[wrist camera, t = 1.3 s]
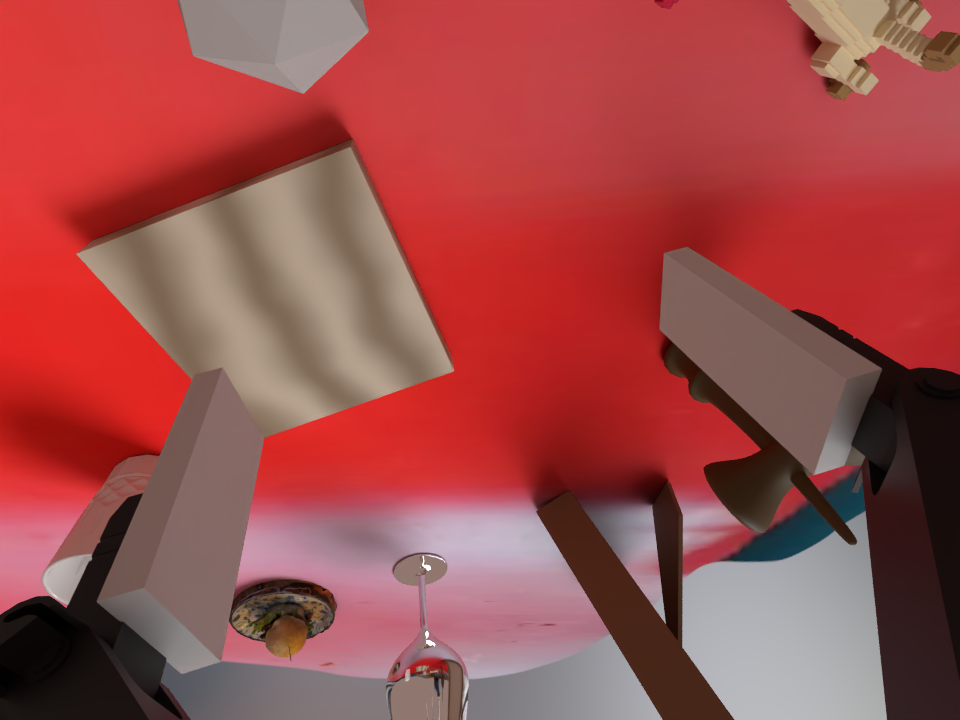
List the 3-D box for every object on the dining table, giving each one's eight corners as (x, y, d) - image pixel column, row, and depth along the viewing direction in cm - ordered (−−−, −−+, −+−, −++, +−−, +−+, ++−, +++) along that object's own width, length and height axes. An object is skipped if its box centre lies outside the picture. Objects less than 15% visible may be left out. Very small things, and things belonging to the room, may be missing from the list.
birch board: (352, 138, 30) (350, 146, 29) (451, 356, 41) (454, 371, 40) (91, 240, 31) (76, 253, 30) (254, 425, 42) (249, 442, 41)
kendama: (749, 327, 44) (953, 513, 28) (666, 396, 48) (805, 596, 32) (714, 293, 41) (917, 479, 25) (628, 369, 45) (760, 574, 29)
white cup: (182, 442, 42) (135, 546, 34) (218, 499, 47) (184, 602, 39) (86, 457, 42) (15, 566, 34) (132, 513, 46) (80, 621, 38)
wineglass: (372, 566, 57) (367, 757, 43) (433, 539, 56) (449, 727, 42) (409, 594, 62) (416, 774, 48) (466, 570, 61) (491, 748, 46)
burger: (210, 600, 57) (190, 671, 51) (298, 565, 56) (288, 634, 50) (276, 638, 64) (264, 704, 58) (355, 608, 63) (352, 672, 57)
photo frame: (585, 587, 68) (668, 833, 48) (533, 504, 55) (617, 793, 35) (689, 549, 66) (820, 789, 46) (660, 453, 53) (825, 729, 33)
